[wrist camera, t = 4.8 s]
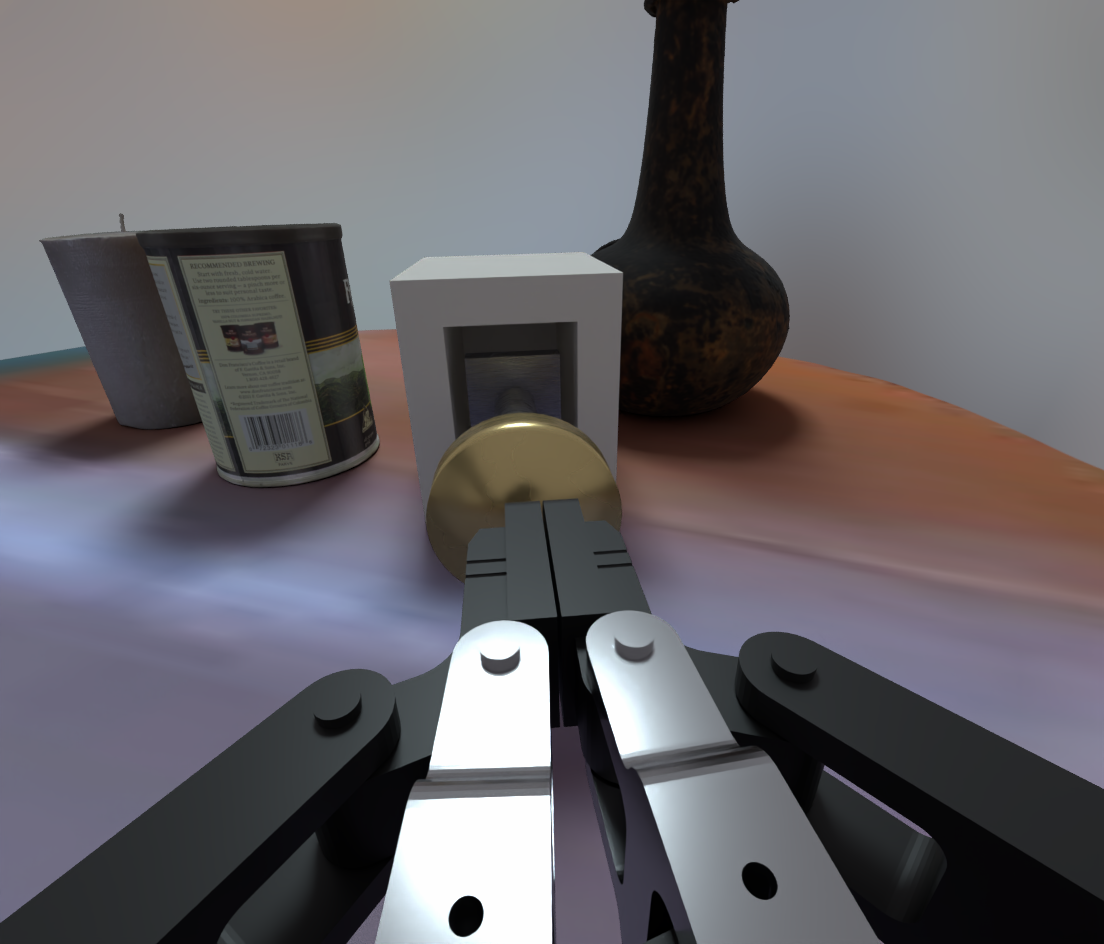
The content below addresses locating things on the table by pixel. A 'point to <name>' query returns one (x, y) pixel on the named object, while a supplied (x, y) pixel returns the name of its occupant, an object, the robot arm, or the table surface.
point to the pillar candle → (124, 327)
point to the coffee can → (268, 347)
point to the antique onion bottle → (690, 240)
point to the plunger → (513, 455)
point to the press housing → (507, 339)
